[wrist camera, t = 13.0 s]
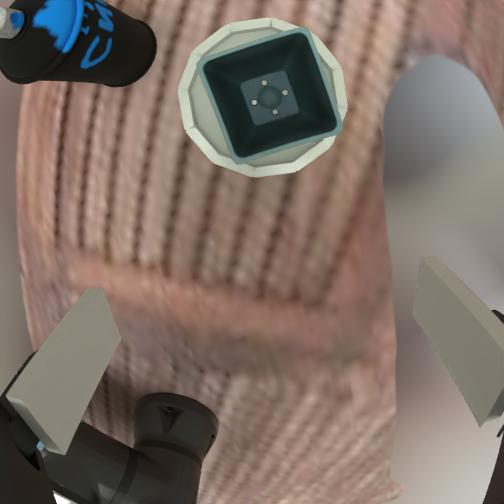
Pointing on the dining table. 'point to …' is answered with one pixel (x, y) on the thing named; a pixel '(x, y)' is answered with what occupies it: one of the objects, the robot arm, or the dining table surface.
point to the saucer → (204, 119)
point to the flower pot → (270, 95)
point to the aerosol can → (73, 43)
